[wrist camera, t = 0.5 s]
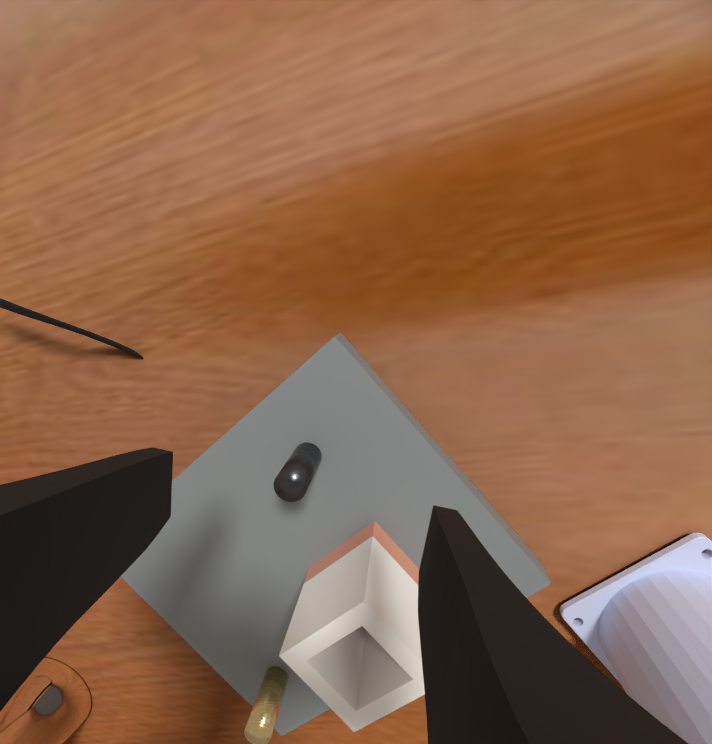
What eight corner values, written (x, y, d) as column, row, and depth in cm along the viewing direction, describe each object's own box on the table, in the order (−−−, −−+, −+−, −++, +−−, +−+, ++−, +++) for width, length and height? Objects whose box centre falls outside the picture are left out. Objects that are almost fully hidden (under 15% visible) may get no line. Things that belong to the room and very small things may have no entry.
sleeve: (433, 585, 19) (442, 684, 14) (366, 626, 20) (354, 731, 16) (374, 520, 19) (364, 601, 14) (309, 566, 20) (278, 655, 15)
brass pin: (293, 678, 22) (276, 739, 19) (276, 689, 22) (257, 749, 19) (277, 662, 22) (257, 720, 19) (260, 673, 22) (238, 731, 19)
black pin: (327, 457, 19) (313, 489, 16) (307, 473, 19) (289, 508, 16) (308, 437, 18) (290, 465, 15) (288, 453, 19) (266, 484, 16)
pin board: (541, 562, 20) (551, 583, 18) (289, 709, 24) (281, 736, 23) (340, 332, 19) (334, 336, 17) (113, 533, 23) (94, 550, 22)
